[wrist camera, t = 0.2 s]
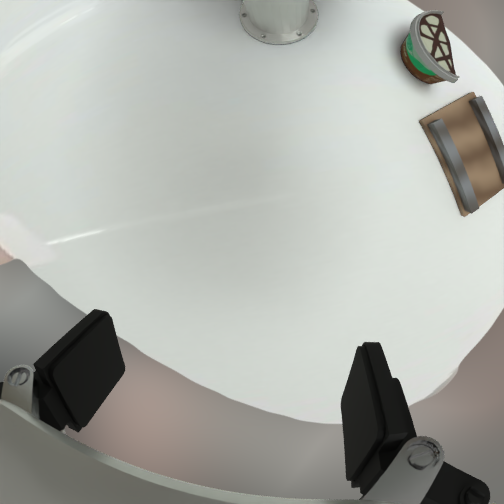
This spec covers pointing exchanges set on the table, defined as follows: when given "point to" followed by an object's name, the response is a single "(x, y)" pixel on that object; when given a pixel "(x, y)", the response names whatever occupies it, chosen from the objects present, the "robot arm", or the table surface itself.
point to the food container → (429, 49)
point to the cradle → (467, 150)
